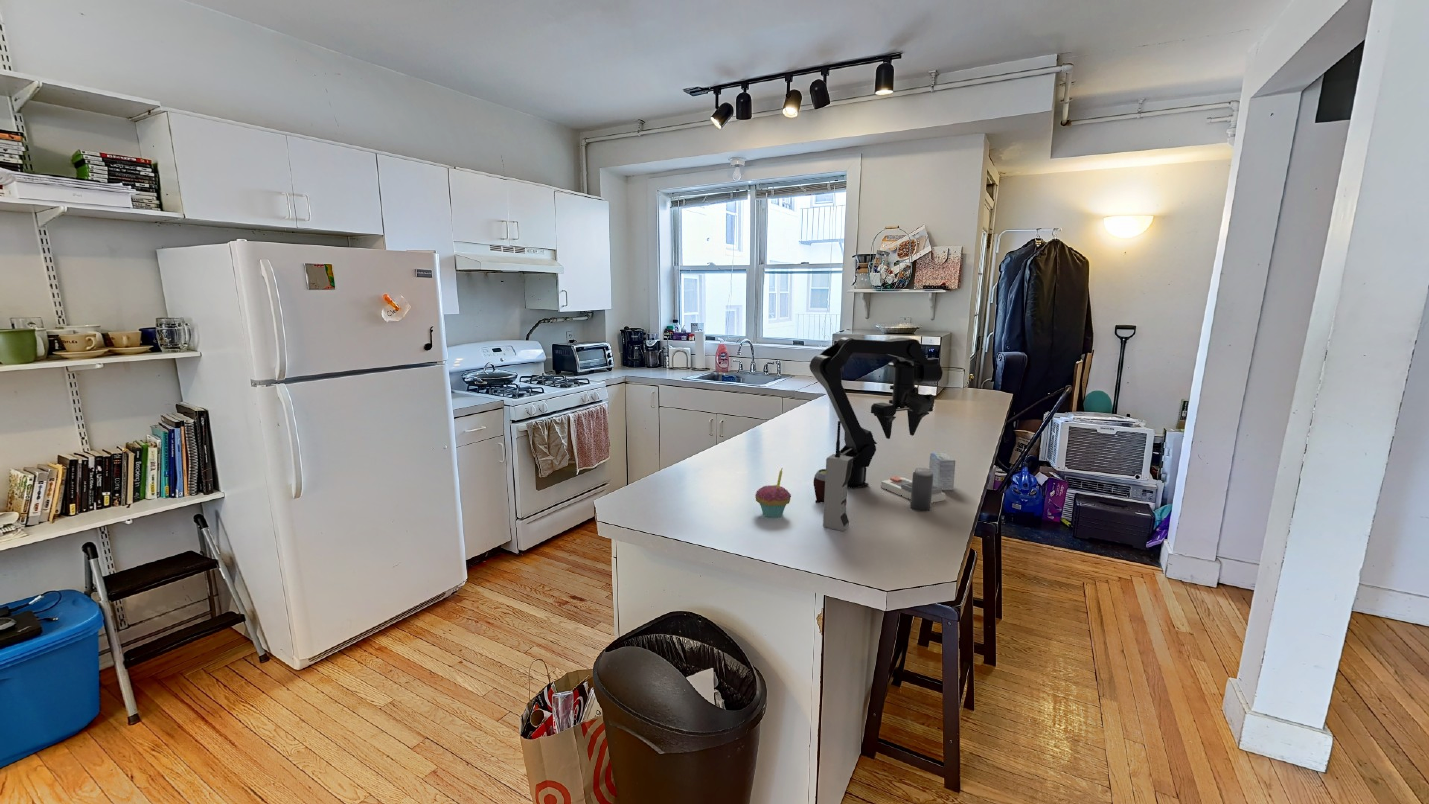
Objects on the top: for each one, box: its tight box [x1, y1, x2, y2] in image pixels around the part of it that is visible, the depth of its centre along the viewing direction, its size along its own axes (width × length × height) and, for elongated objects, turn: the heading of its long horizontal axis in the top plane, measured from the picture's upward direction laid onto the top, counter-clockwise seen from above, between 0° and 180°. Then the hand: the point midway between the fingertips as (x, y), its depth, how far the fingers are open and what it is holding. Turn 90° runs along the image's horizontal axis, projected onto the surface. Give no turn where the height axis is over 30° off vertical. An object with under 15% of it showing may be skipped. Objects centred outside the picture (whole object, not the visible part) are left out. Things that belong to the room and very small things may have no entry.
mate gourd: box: [813, 448, 852, 504], centre depth 146 cm, size 8×8×15 cm
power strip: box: [880, 476, 946, 504], centre depth 154 cm, size 8×15×3 cm, turn 28°
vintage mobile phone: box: [822, 420, 853, 532], centre depth 129 cm, size 4×5×25 cm
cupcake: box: [754, 467, 792, 519], centre depth 138 cm, size 9×8×12 cm
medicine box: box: [928, 452, 956, 491], centre depth 160 cm, size 8×4×9 cm, turn 179°
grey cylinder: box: [909, 467, 933, 513], centre depth 143 cm, size 5×5×10 cm
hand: (900, 437), depth 163 cm, fingers open, 9 cm apart
